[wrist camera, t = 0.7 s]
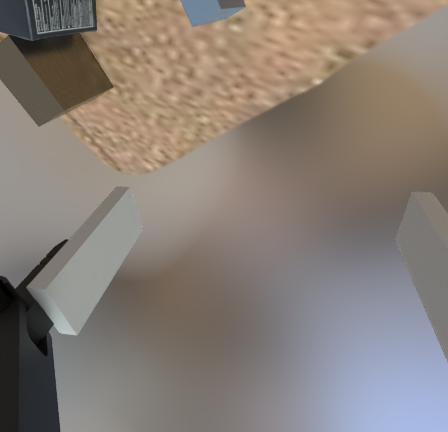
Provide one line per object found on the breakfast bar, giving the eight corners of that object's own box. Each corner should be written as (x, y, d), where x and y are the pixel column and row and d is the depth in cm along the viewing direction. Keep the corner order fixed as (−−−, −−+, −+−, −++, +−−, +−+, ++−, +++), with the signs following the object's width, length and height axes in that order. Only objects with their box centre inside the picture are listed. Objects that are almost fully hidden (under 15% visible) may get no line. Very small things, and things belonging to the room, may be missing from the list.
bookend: (52, 45, 35) (-18, 57, 27) (75, 27, 33) (8, 35, 25) (91, 100, 38) (38, 126, 30) (113, 87, 36) (64, 110, 28)
